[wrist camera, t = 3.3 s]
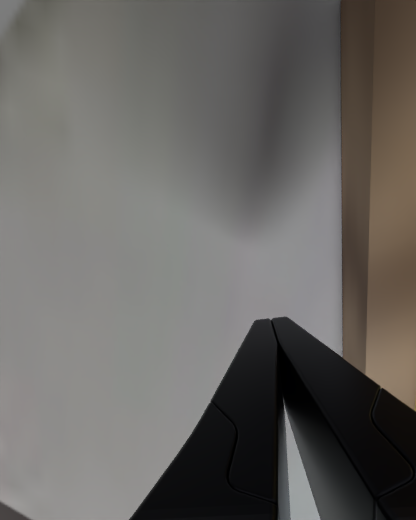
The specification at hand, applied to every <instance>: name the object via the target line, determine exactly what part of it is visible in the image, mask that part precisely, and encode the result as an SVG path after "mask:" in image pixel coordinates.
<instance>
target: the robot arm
mask: <svg viewBox="0 0 416 520" xmlns="http://www.w3.org/2000/svg"><path fill="white" fill-rule="evenodd" d="M283 400H284V401H283ZM284 405H285V408H286V412H287V415H288V419H289V422H290V425H291V428H292V431H293V434H294V437H295V441H296V444H297V447H298V450H299V453H300V456H301V459H302V463H303V466H304V469H305V472H306V475H307V478H308V481H309V484H310V488H311V491H312V494H313V497H314V500H315V503H316V506H317V510H318V513H319V516H320V519H321V520H416V411H415V410H413V409H412V408H410V407H409V406H408V405H406V404H405V403H403V402H402V401H401V400H399V399H398V398H396V397H395V396H394V395H392V394H391V393H390V392H388V391H387V390H386V389H384V388H381V386H380V385H379V384H377V383H376V382H374V381H373V380H372V379H370V378H369V377H368V376H366V375H365V374H364V373H362V372H361V371H360V370H358V369H357V368H356V367H354V366H353V365H352V364H350V363H349V362H347V361H346V360H345V359H343V358H342V357H341V356H339V355H338V354H337V353H335V352H334V351H333V350H331V349H330V348H329V347H327V346H326V345H325V344H323V343H322V342H320V341H319V340H318V339H316V338H315V337H314V336H312V335H311V334H310V333H308V332H307V331H306V330H304V329H303V328H302V327H300V326H299V325H297V324H296V323H295V322H293V321H292V320H291V319H289V318H288V317H278V318H273V319H272V320H270V319H260V320H255V321H254V323H253V325H252V326H251V328H250V330H249V332H248V334H247V335H246V337H245V339H244V341H243V343H242V345H241V346H240V348H239V350H238V352H237V354H236V356H235V357H234V359H233V361H232V363H231V365H230V366H229V368H228V370H227V372H226V374H225V376H224V377H223V379H222V381H221V383H220V385H219V387H218V388H217V390H216V392H215V394H214V396H213V397H212V399H211V403H209V404H208V406H207V408H206V410H205V412H204V414H203V415H202V417H201V419H200V420H199V422H198V424H197V425H196V427H195V429H194V430H193V432H192V434H191V435H190V437H189V438H188V440H187V441H186V443H185V444H184V445H183V447H182V448H181V450H180V451H179V453H178V454H177V456H176V457H175V458H174V460H173V461H172V462H171V464H170V465H169V466H168V468H167V469H166V471H165V472H164V473H163V475H162V476H161V477H160V479H159V480H158V482H157V483H156V484H155V486H154V487H153V488H152V490H151V491H150V492H149V494H148V495H147V497H146V498H145V499H144V501H143V502H142V503H141V505H140V506H139V508H138V509H137V510H136V512H135V513H134V514H133V515H132V517H131V518H130V519H129V520H291V519H290V501H289V483H288V464H287V446H286V428H285V412H284Z"/></svg>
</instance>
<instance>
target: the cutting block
mask: <svg viewBox="0 0 416 520" xmlns="http://www.w3.org/2000/svg"><path fill="white" fill-rule="evenodd" d="M341 125H342V282H343V359H345V360H346V361H347V362H349V363H350V364H352V365H353V366H354V367H356V368H357V369H358V370H360V371H361V372H362V373H364V374H365V375H366V376H368V377H369V378H370V379H372V380H373V381H374V382H376V383H377V384H379V385H380V386H381V388H384V389H386V390H387V391H388V392H390V393H391V394H392V395H394V396H395V397H396V398H398V399H399V400H401V401H402V402H403V403H405V404H406V405H408V406H409V407H410V408H412V409H413V410H414V409H415V399H416V0H341Z"/></svg>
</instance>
